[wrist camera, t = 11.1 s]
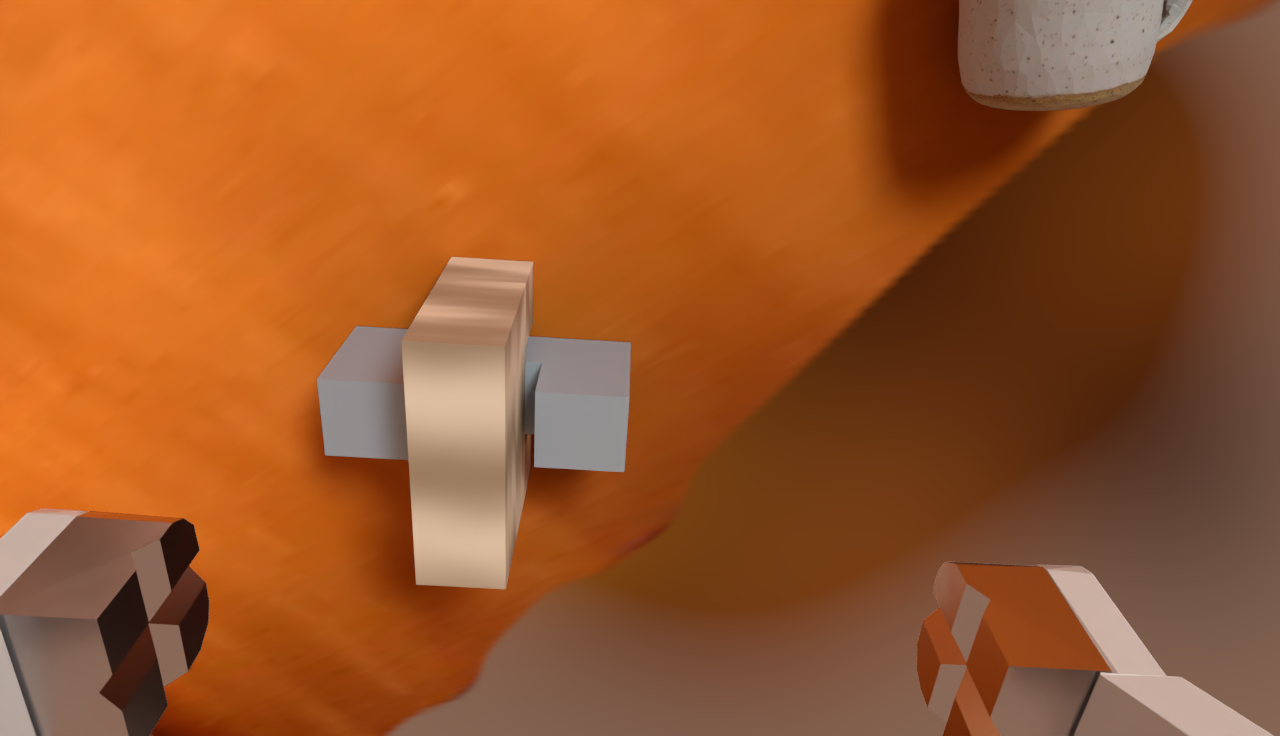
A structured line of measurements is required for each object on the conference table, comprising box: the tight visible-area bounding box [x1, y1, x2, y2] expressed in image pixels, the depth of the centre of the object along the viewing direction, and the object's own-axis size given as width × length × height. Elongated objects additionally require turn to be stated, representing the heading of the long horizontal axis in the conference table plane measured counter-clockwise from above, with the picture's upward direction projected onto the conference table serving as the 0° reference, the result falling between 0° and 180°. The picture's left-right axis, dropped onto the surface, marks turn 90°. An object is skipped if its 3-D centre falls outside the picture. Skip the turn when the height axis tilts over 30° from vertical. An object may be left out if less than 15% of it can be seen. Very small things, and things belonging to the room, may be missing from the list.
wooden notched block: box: [401, 257, 533, 589], centre depth 41 cm, size 12×4×10 cm, turn 176°
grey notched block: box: [317, 326, 631, 472], centre depth 43 cm, size 14×4×6 cm, turn 86°
